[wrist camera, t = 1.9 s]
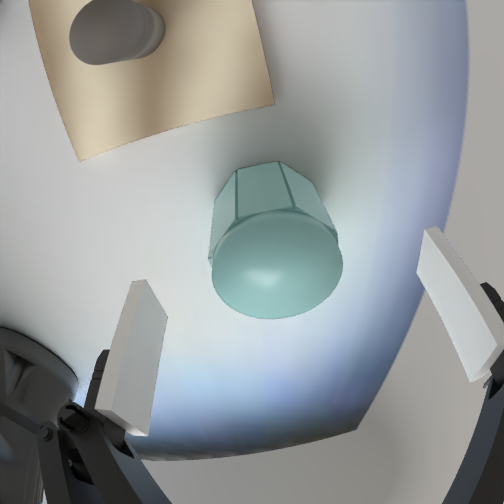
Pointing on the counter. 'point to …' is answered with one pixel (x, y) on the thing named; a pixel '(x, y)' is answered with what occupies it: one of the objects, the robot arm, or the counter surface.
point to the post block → (148, 65)
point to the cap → (272, 243)
